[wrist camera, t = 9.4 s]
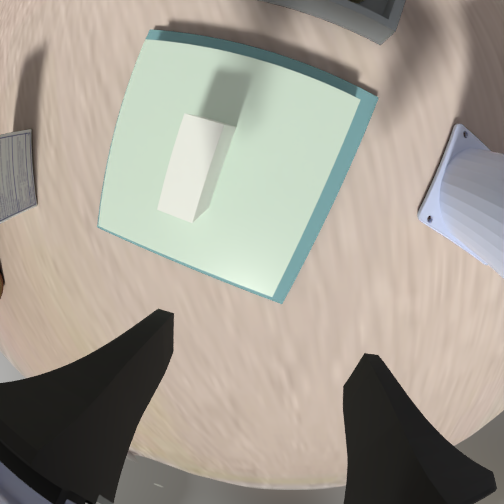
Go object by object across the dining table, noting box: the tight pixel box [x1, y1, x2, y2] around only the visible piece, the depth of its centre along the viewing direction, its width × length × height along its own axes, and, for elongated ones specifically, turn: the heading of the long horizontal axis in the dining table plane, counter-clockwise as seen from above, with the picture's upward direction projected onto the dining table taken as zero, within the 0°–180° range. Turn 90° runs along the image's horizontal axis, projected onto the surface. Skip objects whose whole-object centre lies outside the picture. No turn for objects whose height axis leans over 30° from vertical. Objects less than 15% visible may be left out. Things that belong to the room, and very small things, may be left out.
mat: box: [97, 30, 378, 304], centre depth 17 cm, size 16×16×1 cm
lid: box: [98, 39, 360, 297], centre depth 14 cm, size 13×13×5 cm
